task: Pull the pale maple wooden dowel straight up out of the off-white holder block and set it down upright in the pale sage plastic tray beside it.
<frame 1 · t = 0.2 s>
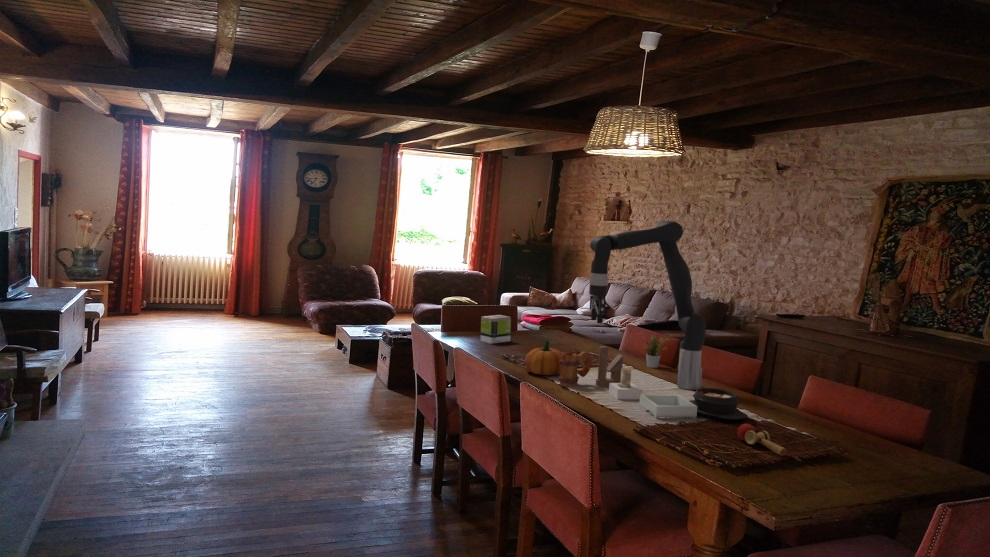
hand: (596, 321, 276), 29 cm above the table, tool pointing down, fingers open, 8 cm apart
tea box: (495, 341, 376), on the table
house plant: (654, 367, 325), on the table
dowel: (624, 395, 265), point 1 cm above the table, touching holder
casserole: (714, 414, 248), on the table
kendama: (760, 448, 212), on the table
mug: (573, 386, 281), on the table
pumpkin: (544, 373, 303), on the table
tray: (667, 411, 248), on the table
holder: (624, 398, 265), on the table
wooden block: (608, 387, 281), on the table
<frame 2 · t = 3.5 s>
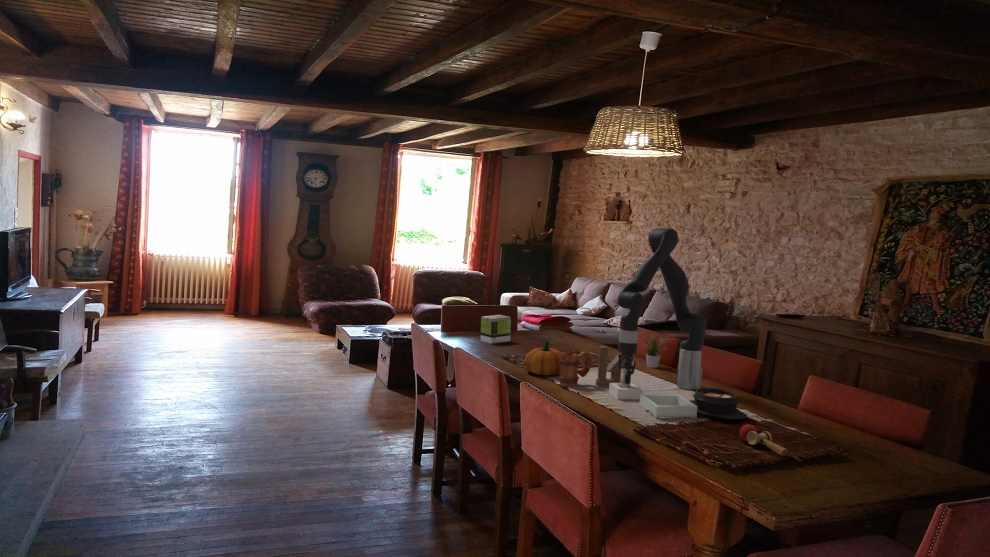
hand: (625, 381, 264), 7 cm above the table, tool pointing down, fingers closed on dowel, 4 cm apart
dowel: (624, 395, 265), point 1 cm above the table, touching gripper, holder
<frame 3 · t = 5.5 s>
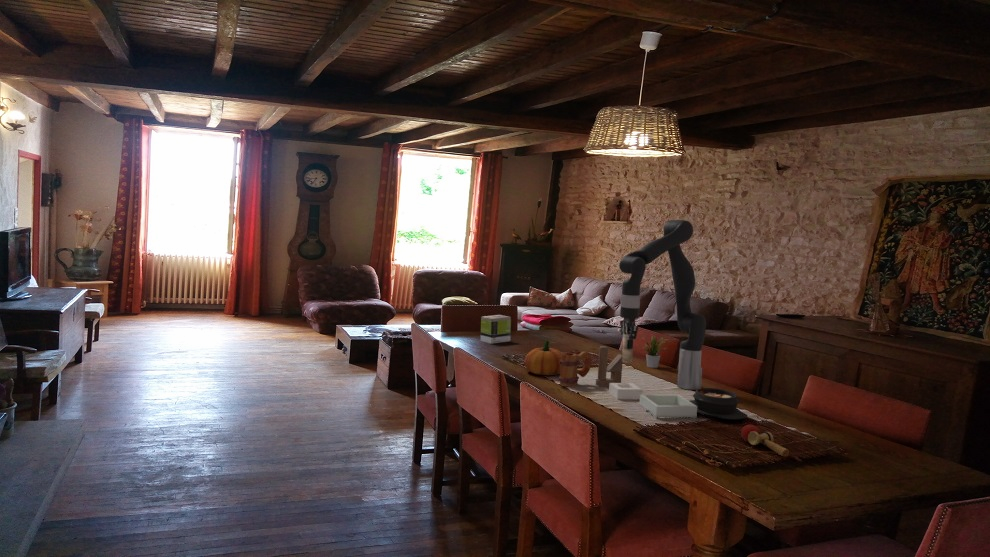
hand: (627, 347, 263), 21 cm above the table, tool pointing down, fingers closed on dowel, 4 cm apart
dowel: (626, 361, 263), point 15 cm above the table, touching gripper
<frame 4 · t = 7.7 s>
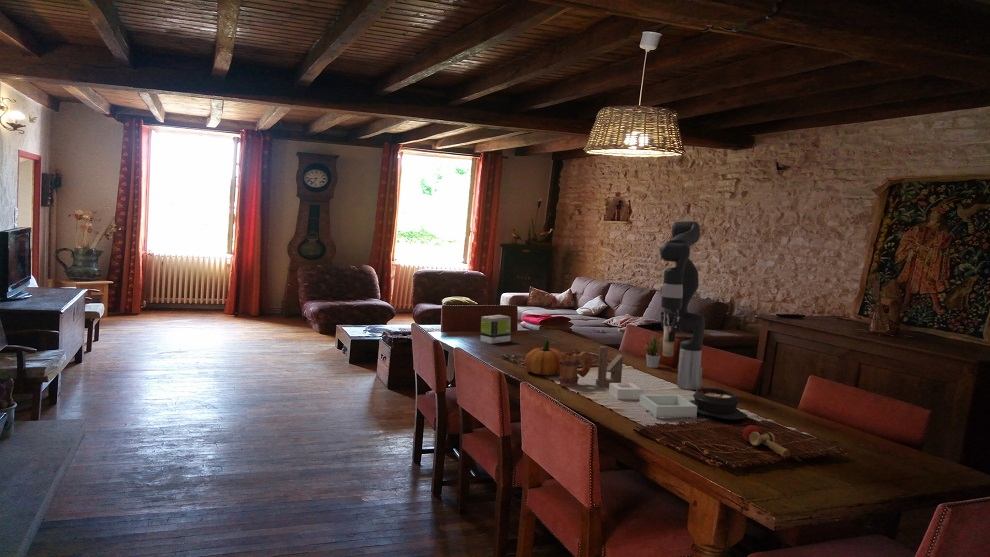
hand: (668, 340, 246), 28 cm above the table, tool pointing down, fingers closed on dowel, 4 cm apart
dowel: (667, 355, 246), point 22 cm above the table, touching gripper
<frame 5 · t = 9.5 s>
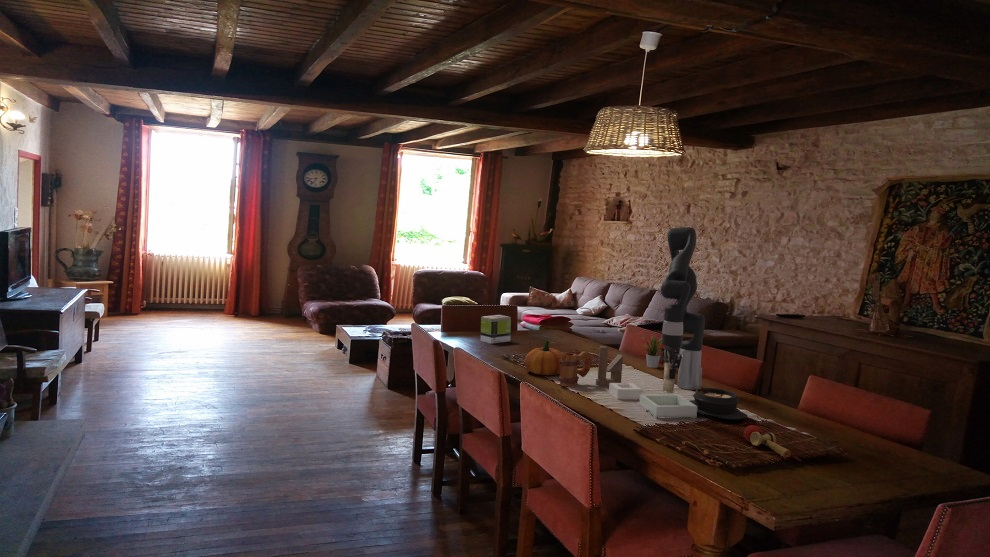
hand: (669, 377, 246), 14 cm above the table, tool pointing down, fingers closed on dowel, 4 cm apart
dowel: (668, 391, 247), point 8 cm above the table, touching gripper
when the fingers open (8 cm above the table, at t = 11.1 s): dowel drops 1 cm, resting on tray.
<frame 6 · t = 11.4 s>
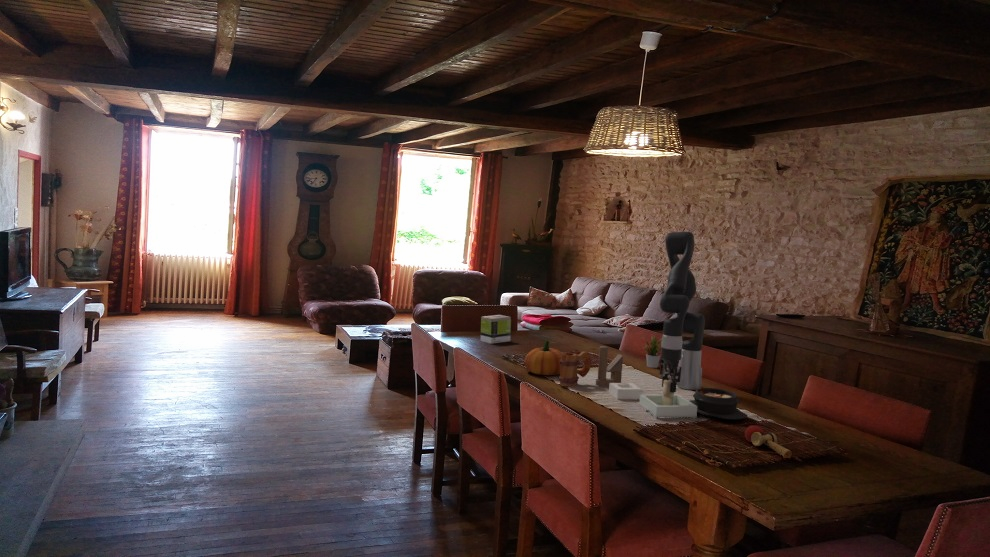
hand: (668, 389, 247), 9 cm above the table, tool pointing down, fingers open, 6 cm apart
dowel: (667, 409, 248), point 1 cm above the table, touching tray
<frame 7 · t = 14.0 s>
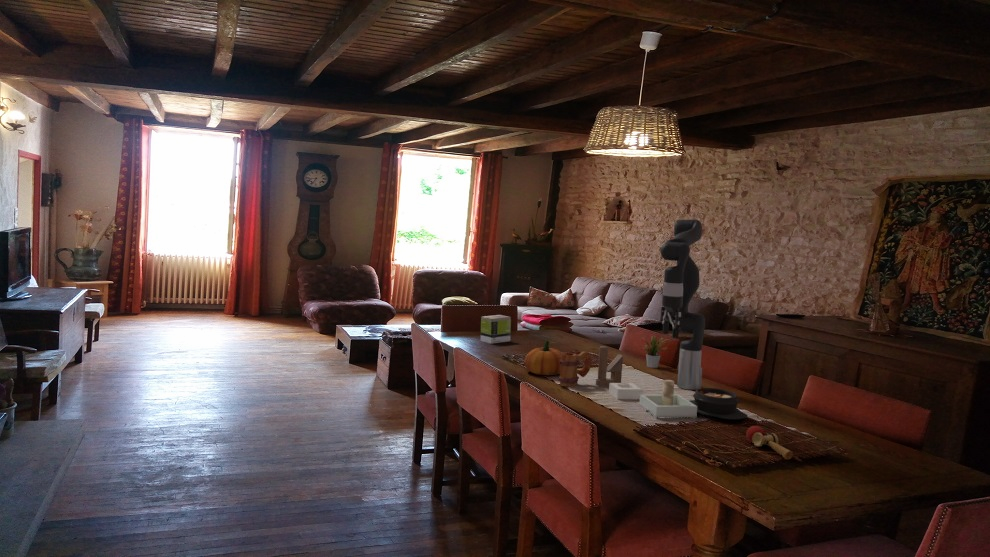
hand: (670, 336, 250), 29 cm above the table, tool pointing down, fingers open, 8 cm apart
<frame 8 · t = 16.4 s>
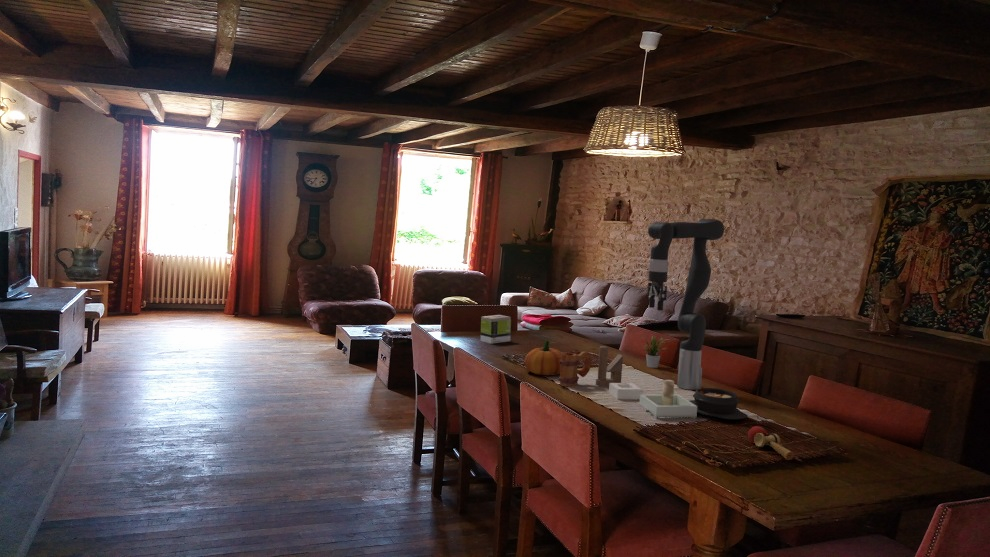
hand: (655, 308, 271), 36 cm above the table, tool pointing down, fingers open, 8 cm apart
at the end: dowel inside the target area on the tray (0.1 cm from its centre), point 1.0 cm above the tray's base; dowel tilted 1°; the gripper is holding nothing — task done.
